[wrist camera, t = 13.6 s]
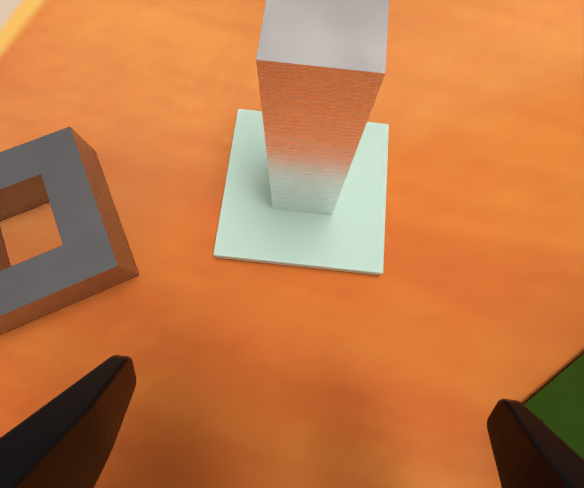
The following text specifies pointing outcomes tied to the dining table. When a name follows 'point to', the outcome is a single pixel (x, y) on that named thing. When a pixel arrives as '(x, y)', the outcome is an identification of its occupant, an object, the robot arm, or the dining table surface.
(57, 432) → the robot arm
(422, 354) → the dining table surface
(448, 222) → the dining table surface
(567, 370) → the clamp
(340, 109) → the peg
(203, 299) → the dining table surface
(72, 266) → the socket block
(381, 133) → the pad
